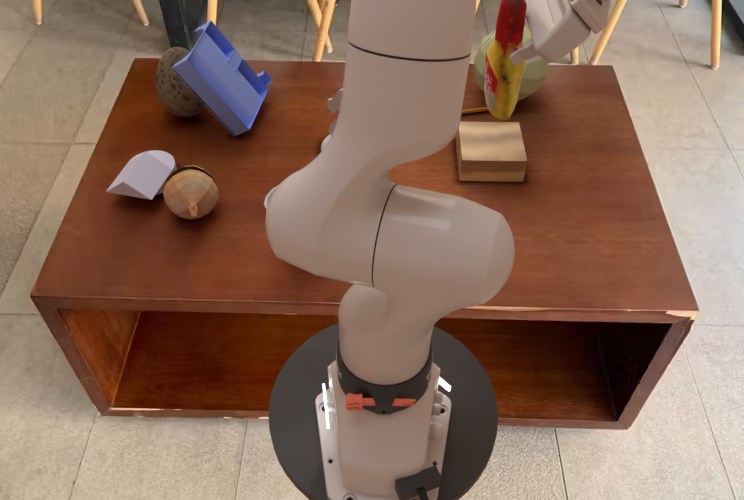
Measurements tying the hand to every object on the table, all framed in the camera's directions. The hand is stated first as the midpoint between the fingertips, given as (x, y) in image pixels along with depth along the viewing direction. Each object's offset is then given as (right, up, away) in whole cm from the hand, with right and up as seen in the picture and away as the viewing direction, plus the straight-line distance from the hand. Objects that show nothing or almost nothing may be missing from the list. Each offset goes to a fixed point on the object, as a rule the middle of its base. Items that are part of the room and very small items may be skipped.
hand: (508, 44), depth 108 cm
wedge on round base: (-65, -24, +11) cm, 70 cm away
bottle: (0, -8, +9) cm, 12 cm away
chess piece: (-27, -13, +26) cm, 40 cm away
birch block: (+1, -16, +23) cm, 28 cm away
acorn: (-55, -20, +16) cm, 60 cm away
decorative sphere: (+9, +11, +27) cm, 31 cm away
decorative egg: (-60, -4, +34) cm, 70 cm away
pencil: (+5, -3, +35) cm, 35 cm away
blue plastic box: (-49, +3, +26) cm, 56 cm away
